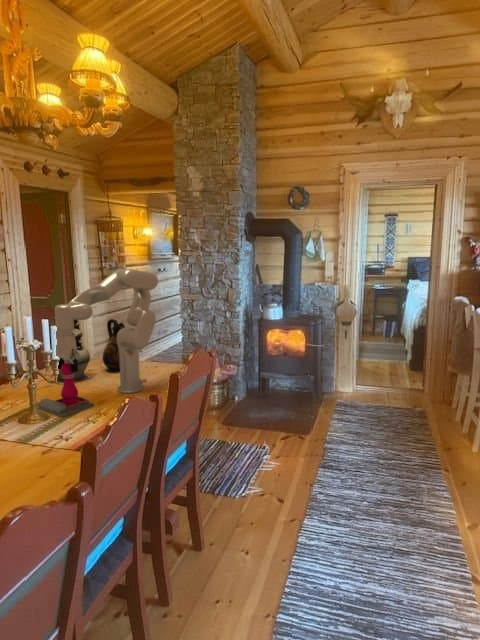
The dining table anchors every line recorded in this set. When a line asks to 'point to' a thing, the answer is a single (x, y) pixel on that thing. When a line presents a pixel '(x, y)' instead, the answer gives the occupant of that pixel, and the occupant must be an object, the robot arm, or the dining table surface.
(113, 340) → the ceramic jug
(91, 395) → the dining table surface
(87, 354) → the decorative urn
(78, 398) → the dark slab
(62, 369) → the pepper mill
